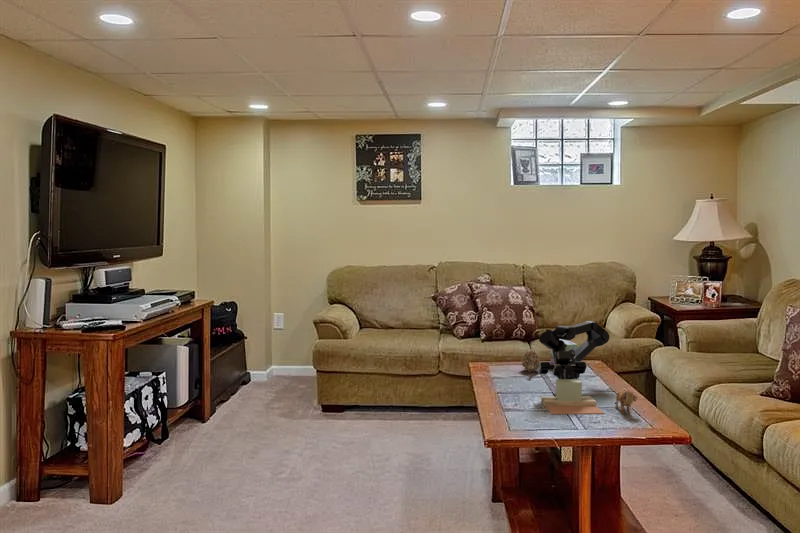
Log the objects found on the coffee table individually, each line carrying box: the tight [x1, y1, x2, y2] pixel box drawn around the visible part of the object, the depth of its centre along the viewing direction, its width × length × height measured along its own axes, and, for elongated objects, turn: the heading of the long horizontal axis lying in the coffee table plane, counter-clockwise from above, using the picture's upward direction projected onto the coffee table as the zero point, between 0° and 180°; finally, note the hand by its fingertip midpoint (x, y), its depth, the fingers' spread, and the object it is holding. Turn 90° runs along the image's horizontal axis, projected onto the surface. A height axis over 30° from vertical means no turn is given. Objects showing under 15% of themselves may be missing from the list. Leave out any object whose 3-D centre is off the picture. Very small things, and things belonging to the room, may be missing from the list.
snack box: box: [549, 339, 579, 365], centre depth 302 cm, size 21×6×15 cm, turn 10°
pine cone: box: [520, 350, 542, 373], centre depth 296 cm, size 22×10×10 cm, turn 172°
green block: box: [555, 378, 583, 401], centre depth 243 cm, size 5×9×8 cm, turn 89°
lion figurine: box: [614, 390, 639, 414], centre depth 235 cm, size 15×5×9 cm, turn 6°
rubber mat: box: [545, 405, 605, 415], centre depth 236 cm, size 10×20×1 cm, turn 89°
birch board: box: [540, 395, 597, 408], centre depth 244 cm, size 7×20×2 cm, turn 89°
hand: (565, 385), depth 246 cm, fingers closed
